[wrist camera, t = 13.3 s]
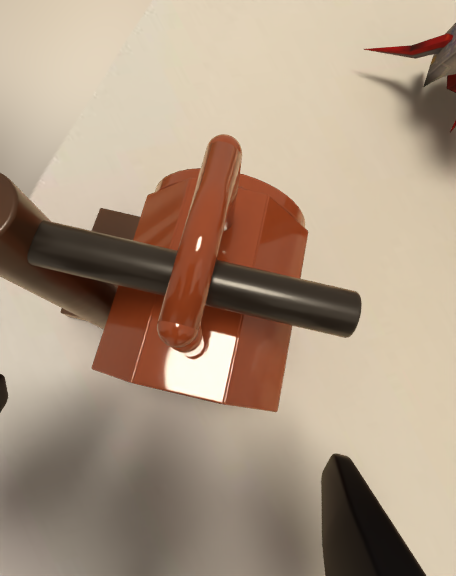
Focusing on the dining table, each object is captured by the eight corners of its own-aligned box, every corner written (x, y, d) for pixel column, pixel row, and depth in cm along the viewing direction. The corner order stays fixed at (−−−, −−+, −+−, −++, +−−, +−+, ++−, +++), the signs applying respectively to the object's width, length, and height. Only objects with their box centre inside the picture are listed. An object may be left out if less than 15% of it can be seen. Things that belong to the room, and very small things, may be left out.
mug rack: (267, 372, 19) (376, 347, 7) (65, 324, 20) (-215, 209, 7) (288, 258, 22) (402, 69, 9) (106, 216, 22) (-48, -27, 9)
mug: (286, 258, 19) (259, 401, 17) (167, 231, 19) (125, 370, 17) (381, 105, 8) (339, 449, 6) (105, 46, 8) (-29, 363, 6)
